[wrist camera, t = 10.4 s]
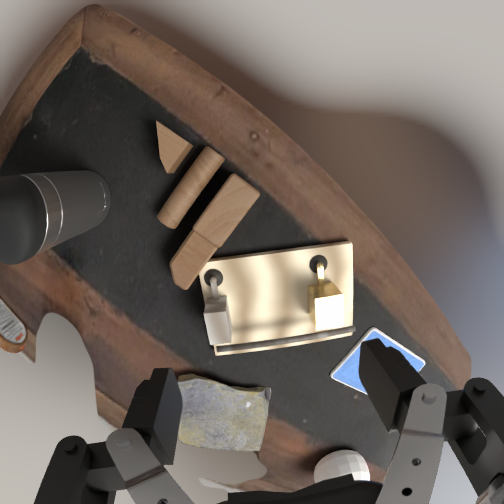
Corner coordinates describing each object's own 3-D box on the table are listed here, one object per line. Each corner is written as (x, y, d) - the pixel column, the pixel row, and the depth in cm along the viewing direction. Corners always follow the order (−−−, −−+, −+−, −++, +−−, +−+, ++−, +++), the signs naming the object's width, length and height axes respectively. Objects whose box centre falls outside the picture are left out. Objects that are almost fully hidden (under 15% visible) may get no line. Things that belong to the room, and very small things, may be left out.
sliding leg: (308, 314, 45) (316, 330, 41) (305, 263, 43) (313, 274, 38) (333, 310, 46) (342, 325, 41) (331, 259, 43) (342, 270, 38)
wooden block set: (266, 188, 37) (185, 296, 40) (262, 186, 42) (191, 281, 46) (159, 112, 34) (88, 225, 37) (169, 119, 39) (104, 219, 42)
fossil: (273, 371, 52) (178, 366, 49) (277, 388, 48) (175, 383, 45) (257, 436, 57) (179, 432, 55) (260, 451, 53) (178, 448, 51)
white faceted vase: (315, 447, 57) (327, 491, 44) (366, 439, 58) (384, 479, 45) (306, 474, 61) (315, 514, 48) (353, 467, 61) (366, 504, 48)
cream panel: (216, 350, 48) (213, 374, 42) (198, 260, 44) (192, 275, 38) (349, 330, 49) (362, 351, 42) (348, 240, 45) (366, 252, 38)
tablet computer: (424, 360, 53) (427, 363, 52) (386, 401, 55) (388, 405, 54) (370, 323, 49) (373, 327, 48) (326, 373, 52) (328, 377, 50)
